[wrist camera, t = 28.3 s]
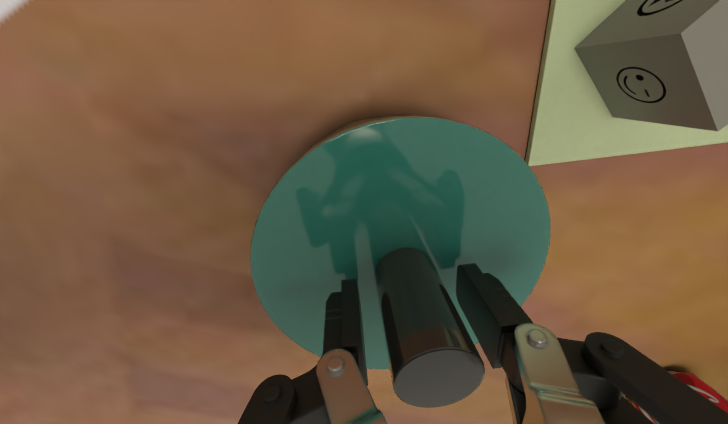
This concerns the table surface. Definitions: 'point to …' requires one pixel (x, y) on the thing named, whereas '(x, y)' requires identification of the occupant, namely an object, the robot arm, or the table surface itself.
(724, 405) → the soda can
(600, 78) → the dice cube
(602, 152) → the placemat
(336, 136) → the pot lid
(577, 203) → the table surface
